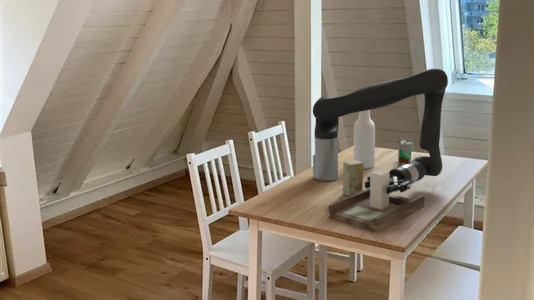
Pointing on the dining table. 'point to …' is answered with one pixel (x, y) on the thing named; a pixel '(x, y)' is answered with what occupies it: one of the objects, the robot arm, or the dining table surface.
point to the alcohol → (364, 140)
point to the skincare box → (352, 177)
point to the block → (379, 189)
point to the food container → (404, 151)
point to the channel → (374, 210)
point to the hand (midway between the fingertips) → (376, 188)
